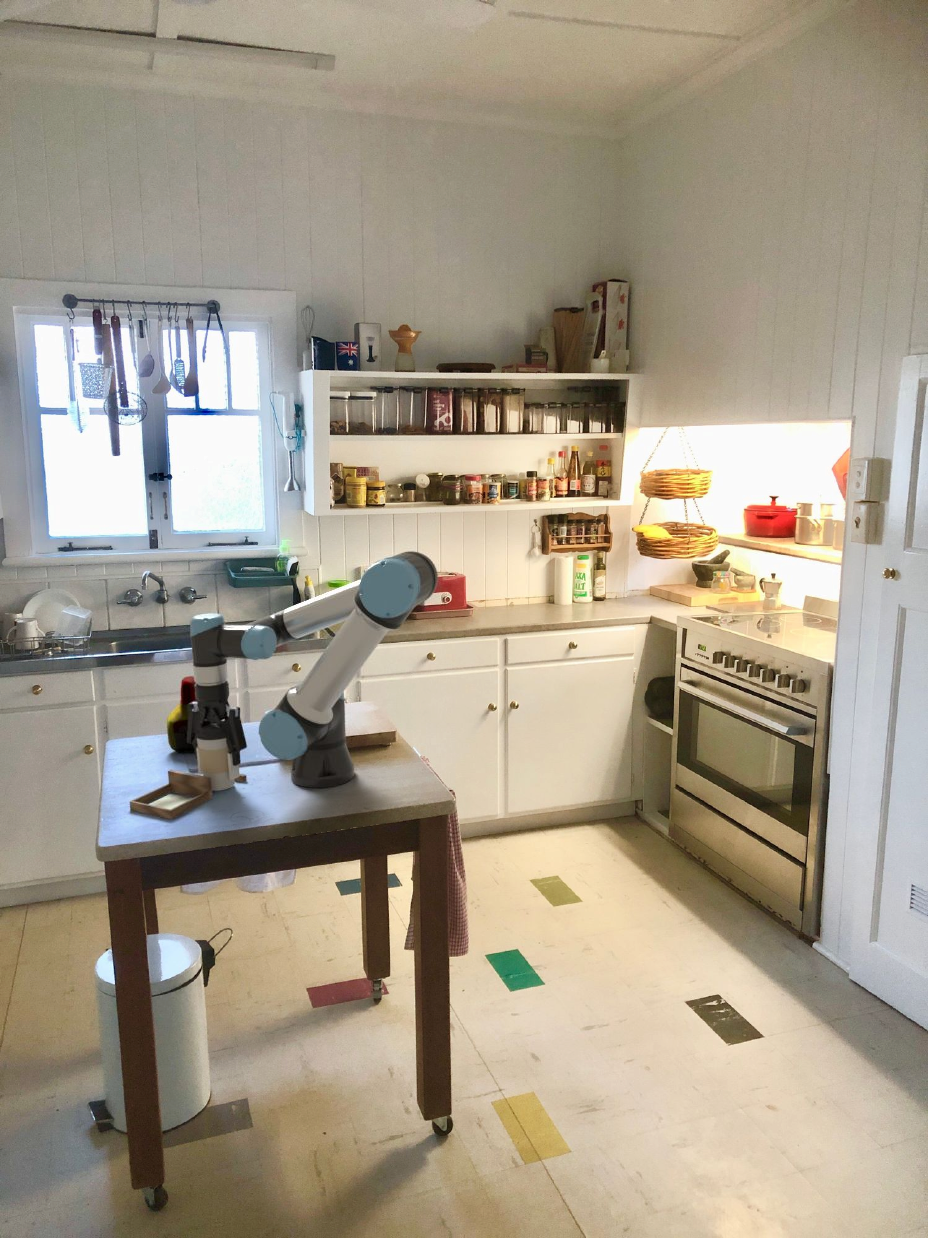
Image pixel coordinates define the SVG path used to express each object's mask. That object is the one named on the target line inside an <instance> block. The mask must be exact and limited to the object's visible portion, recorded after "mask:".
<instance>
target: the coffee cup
mask: <svg viewBox="0 0 928 1238" xmlns="http://www.w3.org/2000/svg"><path fill="white" fill-rule="evenodd" d="M196 738H197V743H198V746H197V747H198V752H199V758H200V764H201V769H202V772H203V774H202V776H205V777H210V778H211V786H212V791H223V790H227V789H230V788H232V787H233V786H235V782H236V781H235V779H234V780H229V768H228V755H227V753H228V752H230V750H229V747H228V745H227V743H226V738H227V737H226V734H225V733H224V732H223V730H222V728H220V727H219V726H217V724H216V722H213V721H212V722H210V724H208V725H206V726H203V727H202V724H201V725H200V728H199V729H198V730H197V731H196ZM234 747H235V746H234Z"/></svg>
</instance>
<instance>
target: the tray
mask: <svg viewBox="0 0 928 1238" xmlns="http://www.w3.org/2000/svg"><path fill="white" fill-rule="evenodd" d="M167 775H168V776H167V777H168V783H167V784H165V785H162V786H161V787H158V788H155V789H154V790H152V791H148V792H147V793H144V794H143V795H140V796H139V797H136V798H134V799H132V800H130V801H129V809H130V811H133V812H137V813H138V812H139V813H141V814H146V815H147V814H148V815H151V816H155V817H160V818H163V819H169V820H172V819H173V820H174V818H177V817H178V816H180V815H182V814H184V813H187V812H189V811H191V810H193V809H195V808H196V807H199V806H200V805H202V804H205V803H206V802H208V801H210V800H212V799H213V790H212V786H211V778H210V777H205V776H203V775H200V774H194V773H190V772H185V771H180V770H174V769H169V770H167ZM173 793H174V794H173ZM177 794H180V795H177ZM165 795H166V796H165ZM182 795H185V796H182ZM186 796H189V797H186ZM191 797H192V798H191ZM148 803H149V804H148Z"/></svg>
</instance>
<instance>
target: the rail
mask: <svg viewBox="0 0 928 1238" xmlns="http://www.w3.org/2000/svg"><path fill="white" fill-rule="evenodd" d="M239 774H240V776H239V777H238V778H236V779H235V782H241V783H246V782H247V774H244V773H243V774H242V773H239Z"/></svg>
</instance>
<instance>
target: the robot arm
mask: <svg viewBox="0 0 928 1238" xmlns="http://www.w3.org/2000/svg"><path fill="white" fill-rule="evenodd" d="M438 580H439V573H438V570H437V567H436V565H435V564H434V562H433V561H432V560H431V559H430V558H429V557H428V556H427V555H425V554H424V553H421V552H418V551H412V550H411V551H409V550H408V551H404V552H400V553H398V554H396V555H392V556H389V557H385V558H381V559H379V560H377V561H376V562H374V563H373V564H371V565H370V566H369V567H368V568H367V569H366V570H365V571H364V573H363V574H362V576H361V578H360V579H358V580H356V581H353V582H350V583H348V584H346V585H342V586H340V587H337V588H335V589H333V590H330V591H327V592H324V593H323V594H320V595H317V596H315V597H312V598H310V599H308V600H305V601H302V602H300V603H297V604H295V605H292V606H289V607H287V608H285V609H283V610H280V611H276V612H274V613H271V614H269V615H266V616H265V617H261V618H260V619H259V618H258V619H257V620H256V619H255V620H254V621H252V622H249V623H246V624H228V623H225V620H224V619H225V618H224V616H223V615H222V614H221V613H202V614H201V613H200V614H197V615H193V617H191V619H190V621H189V623H190V624H189V625H190V626H189V628H190V634H189V637H190V644H191V652H192V664H193V665H192V667H193V676H194V681H195V682H196V684H195V694H196V699H197V700H198V702H197V701H195V702H192V703H189V704H188V705H187V707H188V712H189V717H188V730H187V743H191V744H193V746H194V747H195V752H194V756H195V759H196V761H197V772H198V775H200V776H202V775H203V772H202V769H201V764H200V758H199V752H198V747H197V746H198V743H197V738H196V731H197V730H198V729H199V728H200V725H201V724H202V727H203V726H206V725H208V724H210V722H211V721H213V722H216V724H217V726H219V727H220V728H222V730H223V732H224V733H225V734H226V737H227V738H226V743H227V745H228V747H229V750H230V752H228V753H227V755H228V768H229V780H234V779H236V778H238V777H239V776H240V774H241V773H240V765H241V751H242V750H245V749H246V748H248V744H247V741H246V740H247V739H246V736H245V732H244V728H243V724H242V718H241V707H240V706H236V707H234V706H231V705H230V703H229V701H228V700H229V697H230V685H229V681H228V678H229V674H228V659H231V658H232V659H243V660H245V659H246V660H253V661H258V660H268V659H270V658H271V657H272V656H273V654H274V653H275V652H276V648H278V647H280V646H282V645H285V644H287V643H290V642H292V641H295V640H297V639H301V638H302V637H305V636H308V635H311V634H313V633H316V632H319V631H321V630H324V629H326V628H327V629H328V628H330V627H332V626H335V625H337V624H338V625H339V624H340V623H343V624H342V625H341V627H340V629H338V630H337V632H336V634H335V636H333V638H332V640H331V641H330V642H329V644H328V646H327V647H326V648H325V650H324V651H323V652H322V654H321V655H320V656H319V658H318V660H317V661H316V662H315V664H314V665H313V667H312V668H311V669H310V670H309V672H308V673H307V675H306V676H305V678H304V679H303V681H302V682H301V683H298V684H296V685H294V686H291V687H290V688H289V689H288V690H287V692H285V694H284V695H283V696H282V698H281V700H280V701H279V702H278V704H277V705H276V707H275V708H274V709H273V710H270V711H268V712H266V713H265V715H264V716H263V717H262V719H261V720H260V722H259V726H258V735H259V738H260V741H261V744H262V746H263V748H264V749H265V751H267V752H268V753H269V754H270V755H271V756H272V757H274V758H277V759H279V760H283V761H291V760H293V761H292V765H291V768H290V780H291V781H292V783H293V784H295V785H297V786H301V787H306V788H315V789H317V788H318V789H319V788H330V787H335V786H340V785H342V784H346V783H348V782H350V781H351V780H353V778H354V777H355V765H354V762H353V761H352V758H351V754H350V752H349V749H348V747H347V740H346V739H347V737H346V734H347V733H346V710H345V709H346V707H345V706H346V705H345V701H346V698H345V694H344V693H345V690H346V689H348V686H350V683H352V681H353V679H354V678H355V677H356V676H357V674H358V673H359V671H360V670H361V669H362V668H363V666H364V665H365V664H366V662H367V661H368V659H369V657H371V655H372V654H373V652H374V651H375V649H376V648H377V647H378V645H379V644H380V643H381V641H382V639H384V637H385V636H386V634H387V633H388V632H391V631H397V630H398V629H400V627H401V626H402V624H403V623H404V622H405V620H406V619H407V618H408V617H409V616H410V614H411V612H412V611H413V610H414V608H416V606H418V605H420V604H422V603H424V602H425V601H427V600H428V599H429V598H431V597H432V595H433V594H434V593H435V591H436V589H437V587H438V582H439V581H438ZM227 658H228V659H227ZM200 712H201V715H200ZM192 735H193V737H192ZM234 746H235V747H234Z"/></svg>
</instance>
